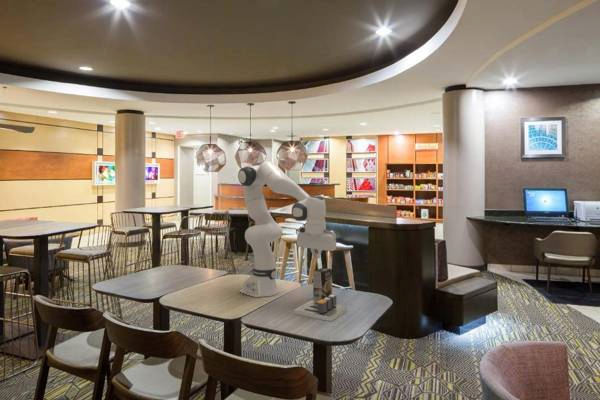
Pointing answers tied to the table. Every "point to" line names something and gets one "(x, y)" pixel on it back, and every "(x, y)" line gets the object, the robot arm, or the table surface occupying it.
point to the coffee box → (322, 283)
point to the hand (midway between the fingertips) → (316, 258)
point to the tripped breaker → (321, 306)
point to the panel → (311, 311)
